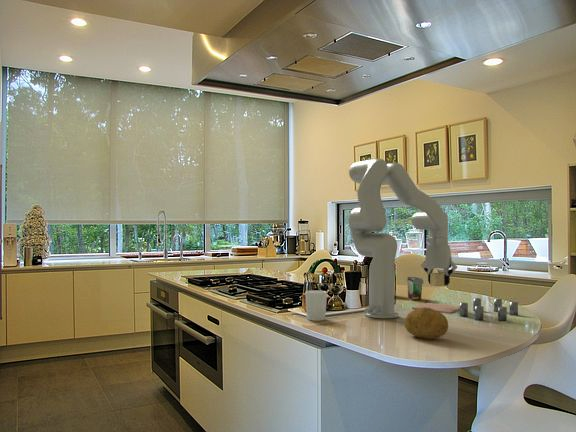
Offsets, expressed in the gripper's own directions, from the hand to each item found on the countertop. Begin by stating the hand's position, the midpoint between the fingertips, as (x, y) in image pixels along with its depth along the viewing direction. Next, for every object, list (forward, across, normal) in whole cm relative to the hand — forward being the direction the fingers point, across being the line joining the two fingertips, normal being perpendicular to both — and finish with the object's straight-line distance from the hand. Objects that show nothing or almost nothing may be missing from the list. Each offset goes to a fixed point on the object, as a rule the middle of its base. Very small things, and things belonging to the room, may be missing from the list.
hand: (438, 283), depth 200 cm
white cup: (+10, -25, -53) cm, 60 cm away
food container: (+11, -18, +19) cm, 28 cm away
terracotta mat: (+10, 0, 0) cm, 10 cm away
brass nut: (+1, 0, 0) cm, 1 cm away
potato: (+10, +18, -55) cm, 59 cm away
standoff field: (+10, +21, -2) cm, 23 cm away
